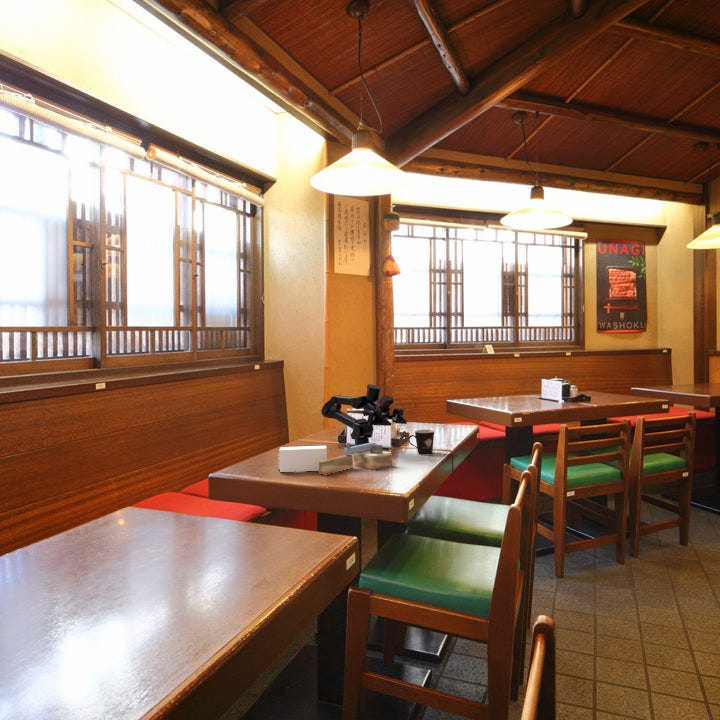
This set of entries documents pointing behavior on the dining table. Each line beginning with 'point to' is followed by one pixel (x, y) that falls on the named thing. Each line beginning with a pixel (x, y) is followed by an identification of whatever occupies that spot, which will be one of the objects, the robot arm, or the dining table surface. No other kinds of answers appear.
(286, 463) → the white rectangular block
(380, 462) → the toolbox
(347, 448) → the block
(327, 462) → the tan rectangular bar
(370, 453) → the lid
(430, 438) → the coffee mug
